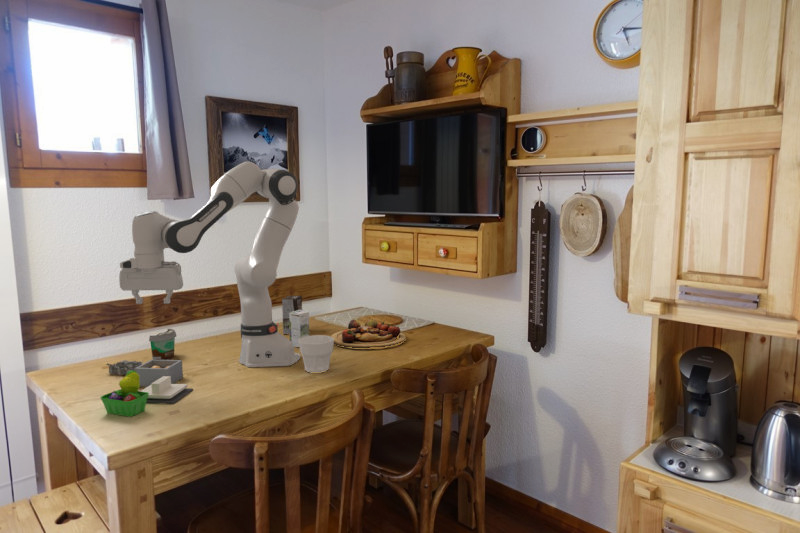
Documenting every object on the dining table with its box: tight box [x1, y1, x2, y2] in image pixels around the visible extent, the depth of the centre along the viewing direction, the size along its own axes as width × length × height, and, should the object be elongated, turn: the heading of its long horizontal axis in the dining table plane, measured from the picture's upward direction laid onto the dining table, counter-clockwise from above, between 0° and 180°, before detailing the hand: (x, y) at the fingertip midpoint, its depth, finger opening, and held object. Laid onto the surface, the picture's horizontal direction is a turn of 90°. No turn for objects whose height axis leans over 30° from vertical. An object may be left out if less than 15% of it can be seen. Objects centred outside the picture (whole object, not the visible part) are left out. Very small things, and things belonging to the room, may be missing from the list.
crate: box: [135, 359, 184, 388], centre depth 190 cm, size 11×10×6 cm
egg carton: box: [106, 359, 144, 376], centre depth 201 cm, size 11×8×4 cm
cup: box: [298, 334, 334, 373], centre depth 200 cm, size 12×12×11 cm
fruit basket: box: [99, 370, 149, 418], centre depth 164 cm, size 11×9×11 cm
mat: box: [146, 387, 194, 405], centre depth 176 cm, size 14×12×1 cm
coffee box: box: [281, 295, 303, 335], centre depth 255 cm, size 9×6×16 cm
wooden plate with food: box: [331, 318, 407, 348], centre depth 241 cm, size 32×32×8 cm
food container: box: [148, 328, 177, 360], centre depth 217 cm, size 12×6×10 cm, turn 168°
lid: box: [140, 376, 189, 399], centre depth 176 cm, size 11×10×5 cm
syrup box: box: [289, 309, 310, 347], centre depth 232 cm, size 6×6×14 cm
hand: (153, 303), depth 188 cm, fingers open, 8 cm apart
